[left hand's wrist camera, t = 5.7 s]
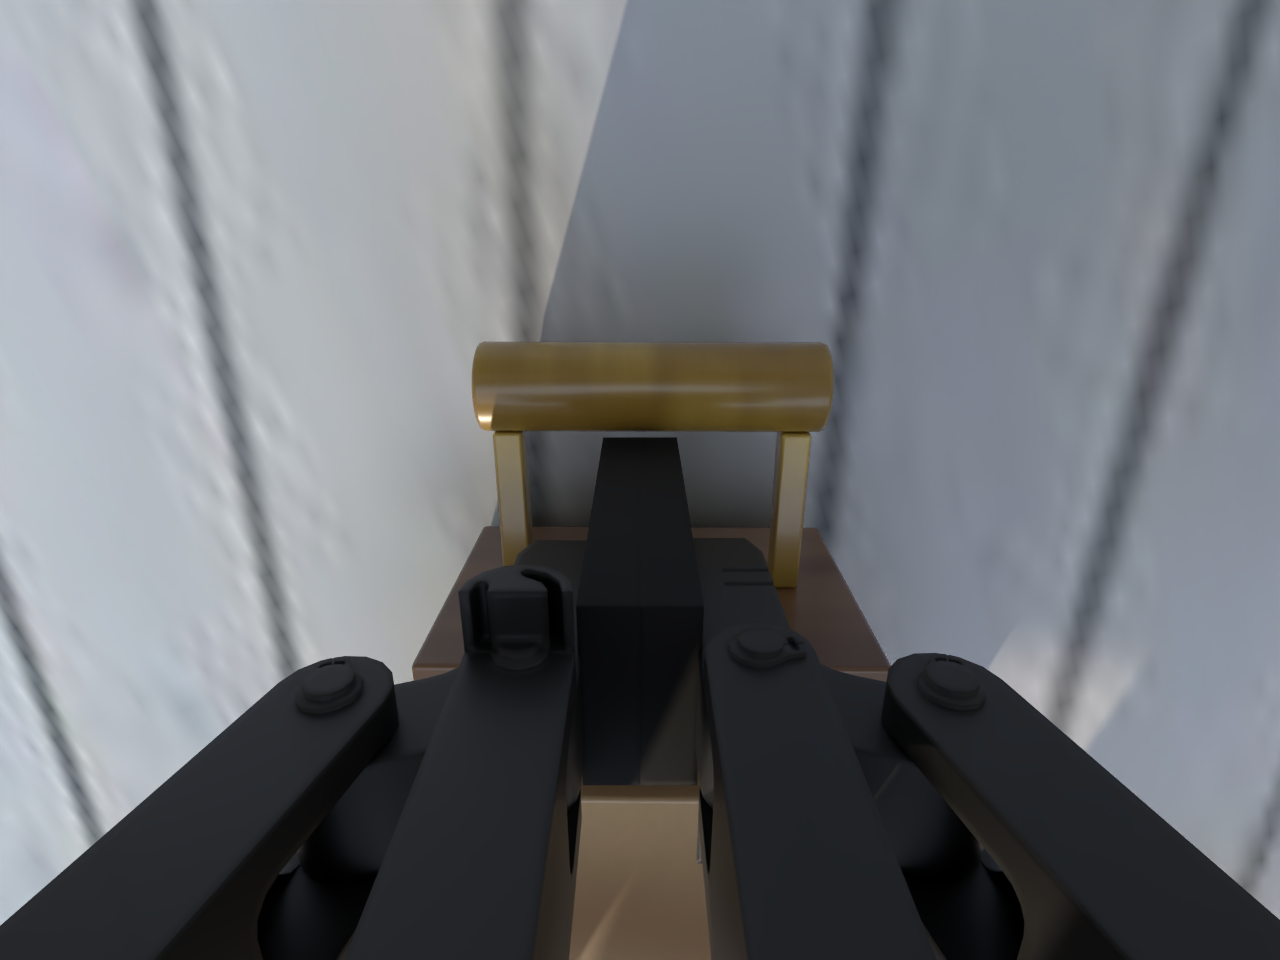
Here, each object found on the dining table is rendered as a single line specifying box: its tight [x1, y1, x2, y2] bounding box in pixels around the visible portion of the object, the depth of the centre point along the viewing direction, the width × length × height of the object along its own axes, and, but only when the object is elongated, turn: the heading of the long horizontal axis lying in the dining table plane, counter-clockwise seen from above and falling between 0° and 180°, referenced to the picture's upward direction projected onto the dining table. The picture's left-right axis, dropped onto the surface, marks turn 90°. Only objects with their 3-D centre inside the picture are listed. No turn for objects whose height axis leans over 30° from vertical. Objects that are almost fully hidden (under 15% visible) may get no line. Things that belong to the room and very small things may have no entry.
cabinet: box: [569, 775, 711, 960], centre depth 20 cm, size 20×10×8 cm, turn 0°
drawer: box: [412, 342, 891, 682], centre depth 18 cm, size 24×9×6 cm, turn 0°
